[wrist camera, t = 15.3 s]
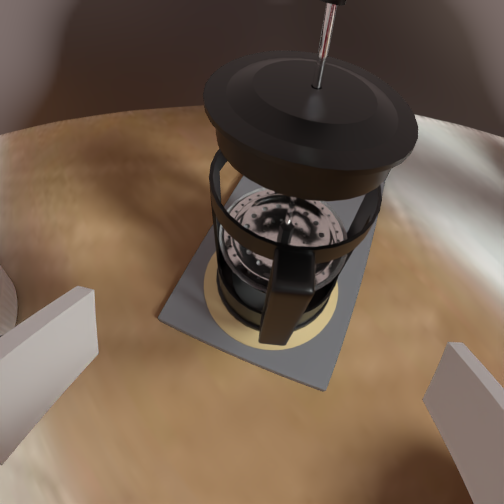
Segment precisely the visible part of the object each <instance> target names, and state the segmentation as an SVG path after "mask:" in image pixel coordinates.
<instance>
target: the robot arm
mask: <svg viewBox="0 0 504 504" xmlns="http://www.w3.org/2000/svg"><path fill="white" fill-rule="evenodd" d="M98 354H99V351H98V340H97V329H96V314H95V295H94V290H93V289H89V288H85V287H81V286H76V287H75V288H73V289H72V290H70V291H69V292H67V293H65V294H64V295H62V296H61V297H59V298H58V299H56V300H55V301H53V302H52V303H50V304H48V305H47V306H45V307H44V308H42V309H41V310H39V311H38V312H36V313H35V314H33V315H32V316H30V317H29V318H28V319H26V320H25V321H23V322H22V323H20V324H19V325H17V326H16V327H14V328H13V329H11V330H10V331H9V332H7V333H6V334H4V335H1V336H0V465H3V464H4V462H5V461H6V460H7V459H8V457H9V456H10V455H11V454H12V452H13V451H14V450H15V449H16V448H17V446H18V445H19V444H20V443H21V442H22V440H23V439H24V438H25V437H26V436H27V434H28V433H29V432H30V431H31V430H32V429H33V427H34V426H35V425H36V424H37V423H38V421H39V420H40V419H41V418H42V417H43V416H44V414H45V413H46V412H47V411H48V410H49V409H50V408H51V406H52V405H53V404H54V403H55V402H56V401H57V399H58V398H59V397H60V396H61V395H62V394H63V393H64V392H65V390H66V389H67V388H68V387H69V386H70V385H71V384H72V383H73V381H74V380H75V379H76V378H77V377H78V376H79V375H80V374H81V372H82V371H83V370H84V369H85V368H86V367H87V366H88V365H89V364H90V363H91V361H92V360H93V359H94V358H95V357H96V356H97V355H98ZM422 400H423V402H424V404H425V405H426V407H427V409H428V411H429V413H430V415H431V417H432V419H433V421H434V422H435V424H436V426H437V428H438V430H439V432H440V434H441V436H442V438H443V440H444V442H445V444H446V446H447V448H448V450H449V452H450V454H451V456H452V458H453V460H454V462H455V464H456V466H457V468H458V470H459V473H460V475H461V477H462V479H463V481H464V483H465V485H466V488H467V490H468V492H469V494H470V496H471V499H472V501H473V503H474V504H504V389H503V387H502V386H501V385H500V384H499V383H498V382H497V380H496V379H495V378H494V377H493V376H492V375H491V373H490V372H489V371H488V370H487V369H486V368H485V367H484V366H483V364H482V363H481V362H480V361H479V360H478V359H477V358H476V357H475V356H474V355H473V353H472V352H471V351H470V350H469V349H468V348H467V347H466V346H465V345H464V344H463V343H458V342H448V343H447V345H446V348H445V350H444V353H443V355H442V358H441V360H440V362H439V365H438V367H437V369H436V372H435V374H434V376H433V378H432V380H431V383H430V385H429V387H428V389H427V391H426V393H425V395H424V397H423V399H422Z"/></svg>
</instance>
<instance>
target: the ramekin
mask: <svg viewBox="0 0 504 504" xmlns="http://www.w3.org/2000/svg"><path fill="white" fill-rule="evenodd" d="M17 309H18V304H17V294H16V290H15V287H14V284H13V283H12V281H11V279H10V278H9V276H8V275H7V274H6V272H5V271H4V269H3V268H2V267H1V265H0V336H1V335H4V334H6V333H7V332H9V331H10V330H11V329H13V328H14V327H15V324H16V319H17Z"/></svg>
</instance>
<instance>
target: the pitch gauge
mask: <svg viewBox="0 0 504 504" xmlns="http://www.w3.org/2000/svg"><path fill="white" fill-rule="evenodd" d="M384 183H385V180H384V181H383V182H382V183H381V184H380V185H381V194H382V193H383V188H384ZM260 188H264V187H262V186H260V185H259V184H257V183H255V182H253V181H251V180H249V179H248V178H246V177H245V176H243V177H242V179H241V180H240V182H239V183H238V185H237V187H236V188H235V190H234V191H233V193H232V194H231V196H230V198H229V199H228V201H227V202H226V204H225V206H224V208H225V209H226V210H228V208H229V207H230V206H231V205H232V204H233V203H234V202H235V201H236V200H237V199H239V198H240V197H242V196H243V195H245V194H247V193H249V192H251V191H253V190H256V189H260ZM364 197H365V195H362V196H359V197H355V198H352V199H348V200H338V201H324V202H326V203H327V204H328V205H329V206H330V207H331V208H332V209H333V210H334V211H335V212H336V213H337V215H338V216H339V218H340V219H341V221H342V223H343V225H344V228H345V230H346V234H347V232H348V230H349V228H350V226H351V224H352V222H353V220H354V218H355V215H356V213H357V211H358V209H359V207H360V205H361V203H362V201H363V199H364ZM377 217H378V215H377ZM377 217H376V219H375V221H374V223H373V225H372V227H371V228H370V230H369V232H368V234H367V235H366V237H365V238H364V239H363V241H362V242H361V243H360V244H359V245H358V246H357V247H356V248H355V249H354V251H353V252H352V254H351V256H350V257H349V259H348V261H347V262H346V264H345V266H344V268H343V269H342V271H341V273H340V274H339V276H338V279H337V282H336V285H335V287H334V289H333V291H332V292H331V295H330V298H329V301H328V303H327V305H326V307H325V308H324V310H323V312H322V313H321V314H320V315H319V316H318V317H317V318H316V319H315V320H314V321H313V322H312V323H310V324H309V325H307V326H306V327H304V328H301V329H299V330H297V331H294V332H293V333H292V335H291V337H290V339H289V340H288V342H287V344H286V345H285V346H279V345H269V344H261V343H259V342H258V339H259V331H256V330H254V329H251V328H249V327H247V326H245V325H244V324H242V323H240V322H239V321H238V320H236V319H235V318H234V317H233V316H232V315H231V314H230V313H229V312H228V310H227V309H226V307H225V306H224V304H223V303H222V301H221V298H220V296H219V293H218V288H217V282H216V276H217V268H218V265H217V256H216V246H215V236H214V226H213V225H212V227H211V228H210V230H209V231H208V233H207V235H206V236H205V238H204V240H203V241H202V243H201V245H200V246H199V248H198V250H197V251H196V253H195V255H194V256H193V258H192V260H191V261H190V263H189V265H188V266H187V268H186V270H185V271H184V273H183V275H182V277H181V278H180V280H179V282H178V283H177V285H176V287H175V289H174V290H173V292H172V294H171V295H170V297H169V299H168V301H167V302H166V304H165V306H164V308H163V309H162V311H161V313H160V315H159V316H158V319H159V321H161V322H163V323H165V324H167V325H168V326H171V327H173V328H175V329H177V330H179V331H181V332H183V333H185V334H187V335H189V336H191V337H193V338H195V339H197V340H199V341H202V342H204V343H206V344H208V345H210V346H212V347H215V348H217V349H219V350H221V351H223V352H226V353H228V354H230V355H232V356H235V357H237V358H239V359H242V360H244V361H246V362H249V363H251V364H253V365H256V366H258V367H261V368H263V369H265V370H268V371H270V372H273V373H275V374H278V375H280V376H283V377H285V378H288V379H291V380H293V381H296V382H298V383H301V384H304V385H306V386H309V387H312V388H315V389H317V390H320V391H323V392H324V391H326V389H327V386H328V383H329V381H330V378H331V375H332V373H333V370H334V367H335V364H336V361H337V358H338V355H339V353H340V350H341V347H342V344H343V341H344V338H345V334H346V331H347V328H348V325H349V322H350V319H351V315H352V312H353V309H354V306H355V302H356V299H357V295H358V292H359V288H360V285H361V281H362V278H363V274H364V270H365V266H366V263H367V259H368V255H369V251H370V247H371V243H372V239H373V234H374V230H375V226H376V221H377ZM232 279H233V285H234V288H235V290H236V292H237V294H238V295H239V297H240V298H241V300H242V301H243V302H244V303H245V304H247V305H248V306H250V307H251V308H254V309H256V310H259V311H261V312H262V311H263V306H264V302H265V297H266V294H265V293H262V292H260V291H258V290H256V289H254V288H253V287H251V286H250V285H248V284H247V283H245V282H244V281H243V280H242V279H240V278H239V277H238V276H237V275H236V274H235V273H234V272H233V273H232ZM315 291H316V290H315ZM314 294H315V293H314ZM313 296H314V295H313Z"/></svg>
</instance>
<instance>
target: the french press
mask: <svg viewBox="0 0 504 504" xmlns="http://www.w3.org/2000/svg"><path fill="white" fill-rule="evenodd" d="M321 1H323V2H326V3H327V4H326V10H325V16H324V22H323V27H322V33H321V40H320V45H319V51H318V54H315V53H309V52H300V51H269V52H261V53H256V54H251V55H246V56H243V57H240V58H238V59H235V60H232V61H231V62H229V63H227V64H225V65H223V66H221V67H220V68H219V69H218V70H217V71H215V72H214V73H213V74H212V75H211V77H210V78H209V79H208V81H207V82H206V84H205V88H204V93H203V101H204V107H205V112H206V114H207V116H208V118H209V120H210V122H211V123H212V125H213V126H214V127H215V128H216V136H217V142H218V146H219V148H220V149H219V150H218V151H217V152H216V154H215V156H214V158H213V161H212V163H211V166H210V174H209V182H210V194H211V205H212V216H213V226H214V236H215V246H216V256H217V265H218V268H217V276H216V282H217V288H218V293H219V296H220V298H221V301H222V303H223V304H224V306H225V307H226V309H227V310H228V312H229V313H230V314H231V315H232V316H233V317H234V318H235V319H236V320H238V321H239V322H240V323H242V324H244V325H245V326H247V327H249V328H251V329H254V330H256V331H259V339H258V342H259V343H261V344H269V345H279V346H285V345H286V344H287V342H288V340H289V339H290V337H291V335H292V333H293V332H294V331H297V330H299V329H301V328H304V327H306V326H307V325H309V324H310V323H312V322H313V321H314V320H315V319H316V318H317V317H318V316H319V315H320V314H321V313H322V312H323V310H324V308H325V307H326V305H327V303H328V301H329V298H330V295H331V292H332V291H333V289H334V287H335V285H336V282H337V279H338V276H339V274H340V273H341V271H342V269H343V268H344V266H345V264H346V262H347V261H348V259H349V257H350V256H351V254H352V252H353V251H354V249H355V248H356V247H357V246H358V245H359V244H360V243H361V242H362V241H363V239H364V238H365V237H366V235H367V234H368V232H369V230H370V228H371V227H372V225H373V223H374V221H375V219H376V217H377V215H378V213H379V211H380V206H381V201H382V194H381V185H380V184H381V183H382V182H383V181H384V180H385V179H386V178H387V176H388V174H389V172H390V170H391V168H393V167H395V166H397V165H399V164H401V163H402V162H403V161H404V160H405V159H406V158H407V157H408V156H409V155H410V154H411V152H412V150H413V148H414V146H415V143H416V141H417V139H418V125H417V122H416V119H415V115H414V114H413V112H412V110H411V109H410V107H409V105H408V104H407V103H406V102H405V100H404V99H403V98H402V97H401V96H400V94H399V93H398V92H396V91H395V90H394V89H393V88H392V87H391V86H389V85H388V84H387V83H386V82H384V81H383V80H381V79H380V78H378V77H377V76H375V75H374V74H372V73H370V72H368V71H366V70H364V69H362V68H360V67H358V66H355V65H353V64H350V63H348V62H345V61H343V60H339V59H336V58H333V57H329V56H327V55H328V50H329V45H330V40H331V35H332V29H333V24H334V19H335V12H336V8H337V5H345V3H346V0H321ZM227 161H228V162H229V163H230V164H231V165H232V166H233V167H234V169H236V170H237V171H238V172H240V173H241V174H242V175H244V176H245V177H246V178H248V179H249V180H251V181H253V182H255V183H257V184H259V185H260V186H262V187H264V188H260V189H256V190H253V191H251V192H249V193H247V194H245V195H243V196H242V197H240V198H239V199H237V200H236V201H235V202H234V203H233V204H232V205H231V206H230V207H229V208H228V210H226V209H225V208H224V206H223V205H222V204H221V193H220V172H219V171H220V170H221V169H222V167H223V166H224V164H225V163H226V162H227ZM362 195H365V197H364V199H363V201H362V203H361V205H360V207H359V209H358V211H357V213H356V215H355V218H354V220H353V222H352V224H351V226H350V228H349V230H348V232H347V234H346V230H345V228H344V225H343V223H342V221H341V219H340V218H339V216H338V215H337V213H336V212H335V211H334V210H333V209H332V208H331V207H330V206H329V205H328V204H327V203H326V202H324V201H338V200H348V199H352V198H355V197H359V196H362ZM233 272H234V273H235V274H236V275H237V276H238V277H239V278H240V279H242V280H243V281H244V282H245V283H247V284H248V285H250V286H251V287H253V288H254V289H256V290H258V291H260V292H262V293H265V294H266V297H265V302H264V306H263V311H262V312H261V311H259V310H256V309H254V308H251V307H250V306H248V305H247V304H245V303H244V302H243V301H242V300H241V298H240V297H239V295H238V294H237V292H236V290H235V288H234V285H233V279H232V273H233ZM315 290H316V291H315ZM314 293H315V294H314ZM313 295H314V296H313Z"/></svg>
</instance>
